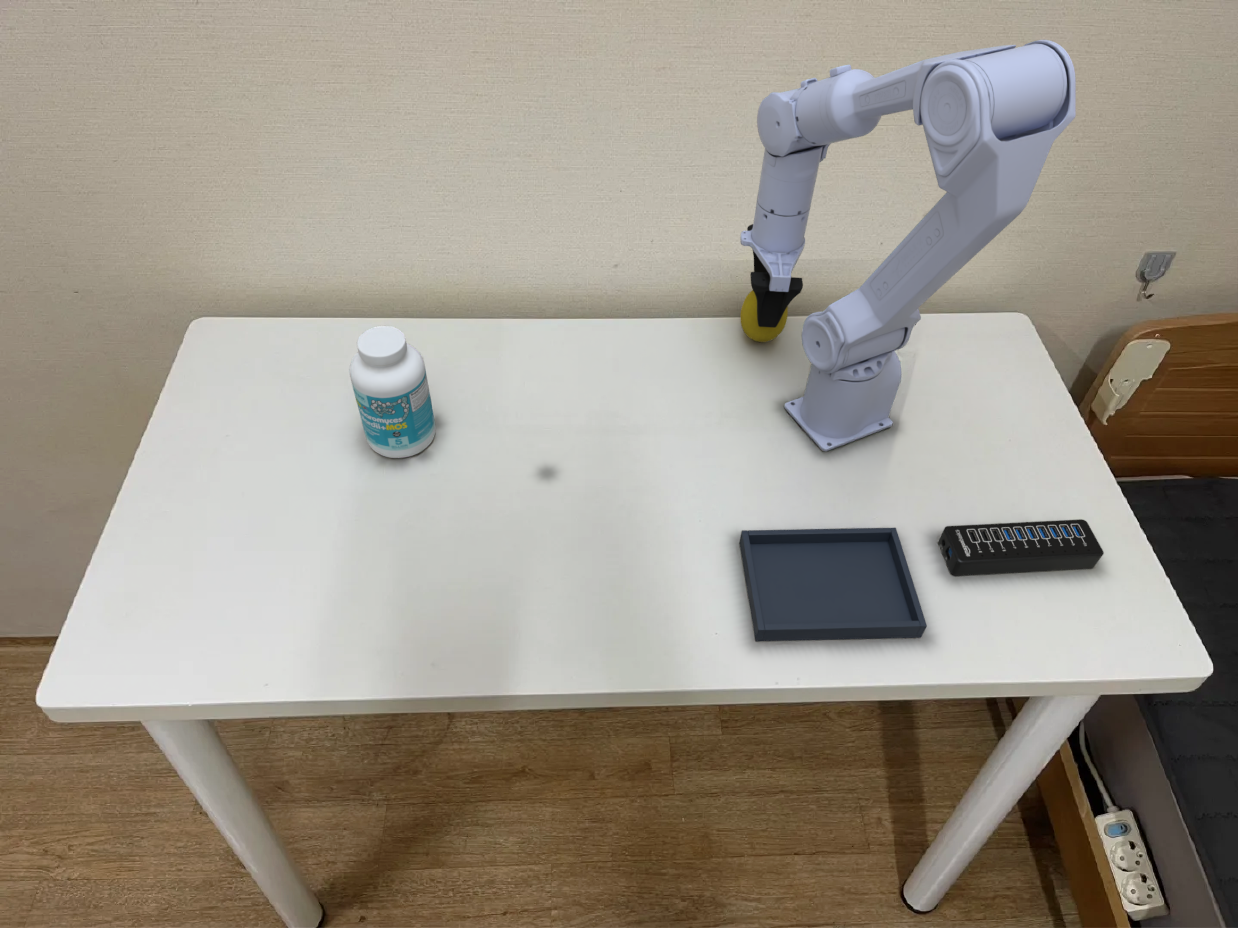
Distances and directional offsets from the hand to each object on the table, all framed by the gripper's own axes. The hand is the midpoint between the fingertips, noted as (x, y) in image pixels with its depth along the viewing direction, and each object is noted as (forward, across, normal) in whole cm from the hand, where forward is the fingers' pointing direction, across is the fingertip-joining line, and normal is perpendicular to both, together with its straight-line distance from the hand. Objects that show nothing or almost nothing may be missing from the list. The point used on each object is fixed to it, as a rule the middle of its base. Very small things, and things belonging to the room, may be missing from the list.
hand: (765, 304), depth 104 cm
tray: (+5, +36, +5) cm, 37 cm away
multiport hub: (+6, +31, +24) cm, 39 cm away
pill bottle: (+6, +20, -40) cm, 45 cm away
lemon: (+6, 0, 0) cm, 6 cm away
